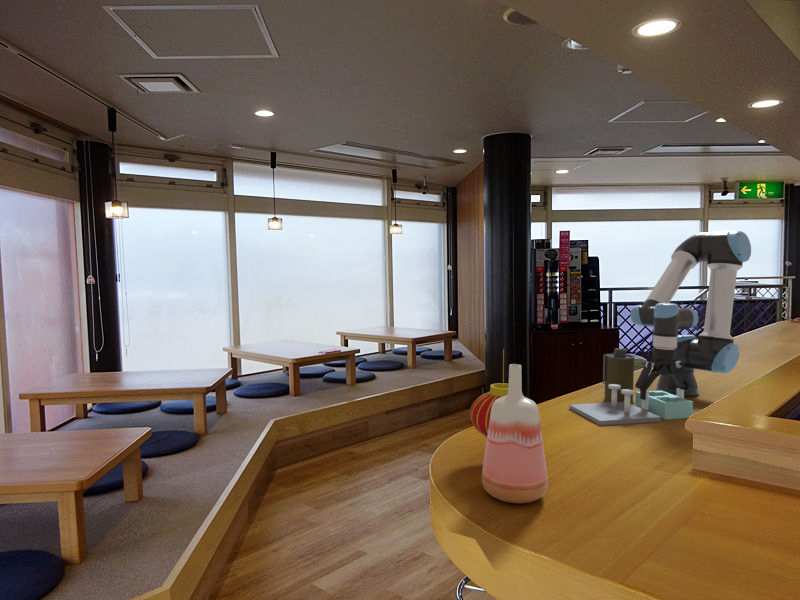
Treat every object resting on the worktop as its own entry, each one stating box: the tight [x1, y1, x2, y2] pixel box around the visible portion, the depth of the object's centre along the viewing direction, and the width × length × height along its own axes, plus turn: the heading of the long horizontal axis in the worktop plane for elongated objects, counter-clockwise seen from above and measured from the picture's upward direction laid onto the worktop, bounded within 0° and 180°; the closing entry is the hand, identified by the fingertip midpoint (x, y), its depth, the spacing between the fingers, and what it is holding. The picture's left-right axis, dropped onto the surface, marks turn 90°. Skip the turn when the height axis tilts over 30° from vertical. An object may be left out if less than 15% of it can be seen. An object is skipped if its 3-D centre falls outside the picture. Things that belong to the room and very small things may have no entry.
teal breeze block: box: [634, 390, 694, 420], centre depth 184 cm, size 10×16×6 cm, turn 10°
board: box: [569, 384, 662, 426], centre depth 180 cm, size 22×20×9 cm
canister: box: [602, 347, 636, 405], centre depth 198 cm, size 11×10×20 cm
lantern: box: [469, 348, 509, 438], centre depth 138 cm, size 17×17×30 cm
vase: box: [481, 363, 549, 504], centre depth 117 cm, size 14×14×30 cm
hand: (662, 408), depth 184 cm, fingers open, 13 cm apart
